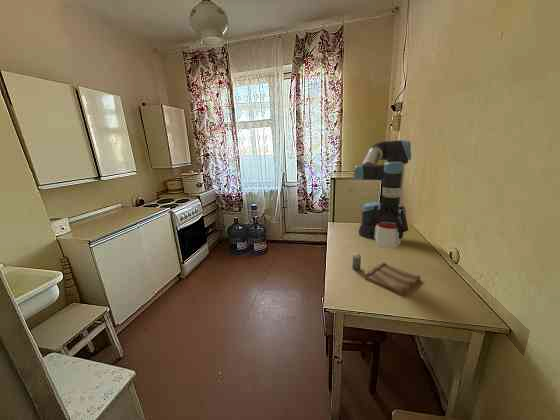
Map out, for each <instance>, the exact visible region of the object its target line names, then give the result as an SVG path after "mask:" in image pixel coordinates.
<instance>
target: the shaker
mask: <svg viewBox="0 0 560 420" xmlns="http://www.w3.org/2000/svg"><path fill="white" fill-rule="evenodd" d="M361 262H362V255H361V254H360V253H358V252H355V253H354V254H353V255H352V266H351V267H352V270H354V271H357V272H358V271H361V264H362V263H361Z"/></svg>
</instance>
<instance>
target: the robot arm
mask: <svg viewBox="0 0 560 420" xmlns="http://www.w3.org/2000/svg"><path fill="white" fill-rule="evenodd" d="M411 144H412V143H411V141H410V140H385V141H384V140H383V141H379V142H377V143H374V144H373V145H372V146H369V148H368V149H367V151H366V154H365V158H364V160H363V162H362V164H357V165H355V167H354V169H353V178H354V179H355V180H361V181H382V191H381V192H382V193H381V195H382V196H381V202H377V201H372V202H366V203H365V204H363V206H362V210H361V211H362V212H361V213H362V214H361V225H360V227H359V229H358V235H359V236H361V237H363V238H369V239H375V240H376V227H377V224H378V223H393V224H396V226H397V228H398V230H399V231H398V232H397V236H396V245H398V246H399V245H401V240H402V239H403V238H404V233H406V232H408V231H409V227H408V221H407V215H406V213H407V208H406V206H404V203H403V202H402V197H403V189H404V187H403V186H404V178H405V169H406V168H405V167H406V165H408V164H409V161H411V160H412V148H411V147H412V145H411ZM379 161H387V162H385V163H384V164H379Z"/></svg>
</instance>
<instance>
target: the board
mask: <svg viewBox="0 0 560 420" xmlns="http://www.w3.org/2000/svg"><path fill="white" fill-rule="evenodd" d="M421 277H422V276H421V275H419V274H413V273H410V272H408V271H406V270H402V269H400V268H397V267H394V266H392V265H390V264H387V262H382V263H380V264H378V265H377V266H376V267H374V268H373V269H371V270H370V271H368V272H367V273H365V274H364V280H367V281H369V282H372V283H374V284H375V285H378V286H380V287H382V288H385V289H387V290H389V291H391V292H393V293H395V294H398V295H400V296H401V297H404V295H405V294H406V293H407V292H408V291H410V290H411V289H412V288H413V287H414V286H415V285H417V283H418V282H419V281H420V280H421Z"/></svg>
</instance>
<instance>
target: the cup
mask: <svg viewBox="0 0 560 420" xmlns="http://www.w3.org/2000/svg"><path fill="white" fill-rule="evenodd" d="M398 231H399V230H398V228H397V226H396V224H394V223H386V222H379V223H378V224H377V227H376V239H375V244H376V245H377V246H379V247H380V248H383V249H394V248H397V247H398V246H399V245H396V236H397V232H398Z"/></svg>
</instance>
